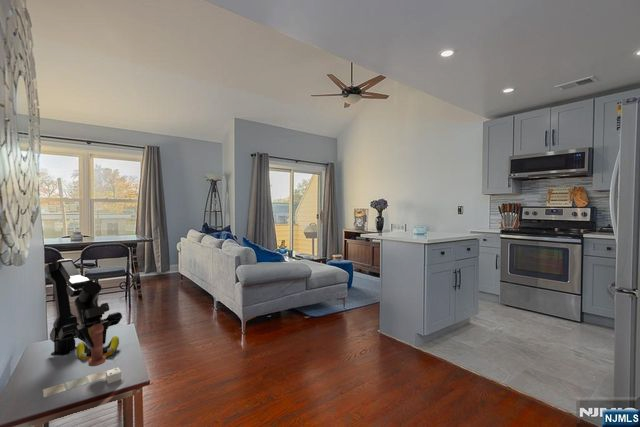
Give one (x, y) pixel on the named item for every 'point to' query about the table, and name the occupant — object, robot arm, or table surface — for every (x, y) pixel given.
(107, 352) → the gaming controller
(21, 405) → the table surface
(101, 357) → the pawn
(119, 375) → the die
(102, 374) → the game board
